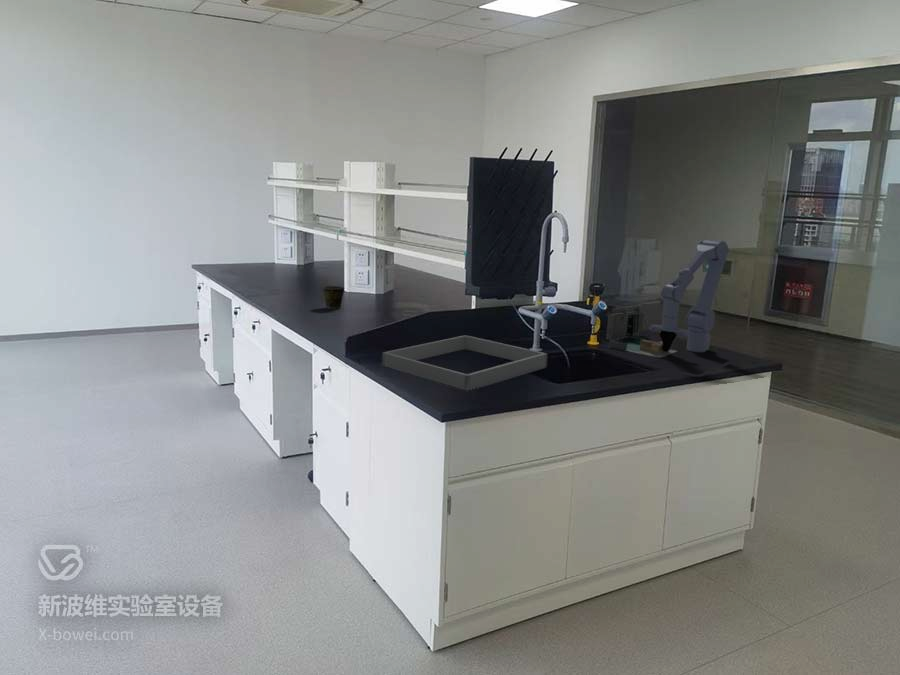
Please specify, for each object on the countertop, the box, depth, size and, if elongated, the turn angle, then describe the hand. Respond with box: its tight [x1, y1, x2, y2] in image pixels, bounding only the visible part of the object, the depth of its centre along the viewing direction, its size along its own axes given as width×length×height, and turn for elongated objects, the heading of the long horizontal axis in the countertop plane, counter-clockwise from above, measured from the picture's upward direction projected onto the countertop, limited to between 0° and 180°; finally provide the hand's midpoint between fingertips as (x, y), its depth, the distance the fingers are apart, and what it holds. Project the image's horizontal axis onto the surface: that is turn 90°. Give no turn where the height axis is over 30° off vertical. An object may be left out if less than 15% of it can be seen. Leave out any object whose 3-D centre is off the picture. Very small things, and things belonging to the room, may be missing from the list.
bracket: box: [607, 336, 645, 351], centre depth 279 cm, size 15×7×2 cm, turn 139°
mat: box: [609, 342, 678, 358], centre depth 274 cm, size 16×22×1 cm
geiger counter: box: [605, 303, 648, 341], centre depth 299 cm, size 14×6×25 cm
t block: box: [640, 339, 665, 355], centre depth 271 cm, size 9×9×4 cm
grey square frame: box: [381, 334, 548, 392], centre depth 240 cm, size 43×37×5 cm
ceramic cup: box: [322, 285, 345, 310], centre depth 336 cm, size 13×10×10 cm
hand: (666, 351), depth 268 cm, fingers closed
